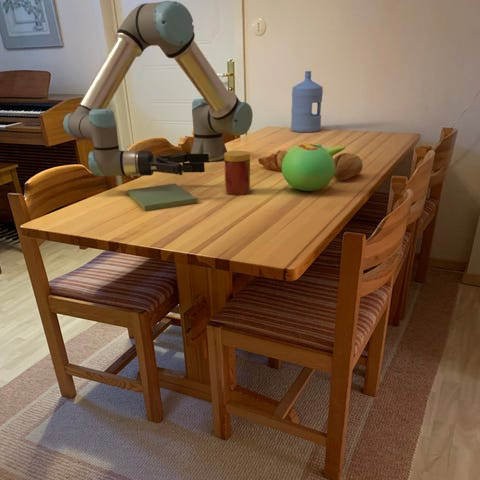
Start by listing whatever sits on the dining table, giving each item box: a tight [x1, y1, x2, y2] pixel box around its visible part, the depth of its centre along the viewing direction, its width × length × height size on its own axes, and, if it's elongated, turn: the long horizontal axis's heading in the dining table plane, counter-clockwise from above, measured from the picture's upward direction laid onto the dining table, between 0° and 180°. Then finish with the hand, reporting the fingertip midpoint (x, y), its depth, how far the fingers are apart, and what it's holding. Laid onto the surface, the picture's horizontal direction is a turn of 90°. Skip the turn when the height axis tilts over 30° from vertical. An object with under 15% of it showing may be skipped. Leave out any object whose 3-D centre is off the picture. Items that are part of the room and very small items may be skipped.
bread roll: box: [333, 152, 364, 181], centre depth 166 cm, size 10×15×8 cm, turn 149°
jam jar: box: [223, 158, 251, 196], centre depth 153 cm, size 8×8×11 cm
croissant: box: [257, 149, 288, 172], centre depth 180 cm, size 21×10×8 cm, turn 63°
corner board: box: [127, 183, 198, 212], centre depth 150 cm, size 20×16×2 cm
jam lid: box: [224, 150, 251, 162], centre depth 150 cm, size 8×8×2 cm
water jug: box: [290, 70, 324, 133], centre depth 250 cm, size 16×16×28 cm
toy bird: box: [281, 141, 346, 192], centre depth 153 cm, size 18×17×15 cm
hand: (206, 162), depth 151 cm, fingers open, 13 cm apart
